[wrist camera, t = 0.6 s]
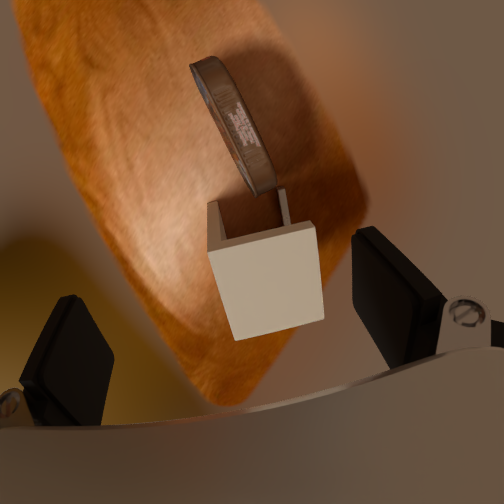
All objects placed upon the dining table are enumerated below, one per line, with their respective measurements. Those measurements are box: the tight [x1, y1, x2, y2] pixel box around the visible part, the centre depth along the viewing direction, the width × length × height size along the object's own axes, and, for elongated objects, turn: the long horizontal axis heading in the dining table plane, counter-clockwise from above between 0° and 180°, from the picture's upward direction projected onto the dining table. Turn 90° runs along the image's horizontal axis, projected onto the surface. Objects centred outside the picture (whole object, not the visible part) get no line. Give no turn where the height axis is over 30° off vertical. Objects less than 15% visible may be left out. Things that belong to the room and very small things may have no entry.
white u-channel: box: [207, 186, 324, 341], centre depth 34 cm, size 10×9×12 cm
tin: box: [189, 56, 277, 198], centre depth 29 cm, size 15×3×8 cm, turn 24°
